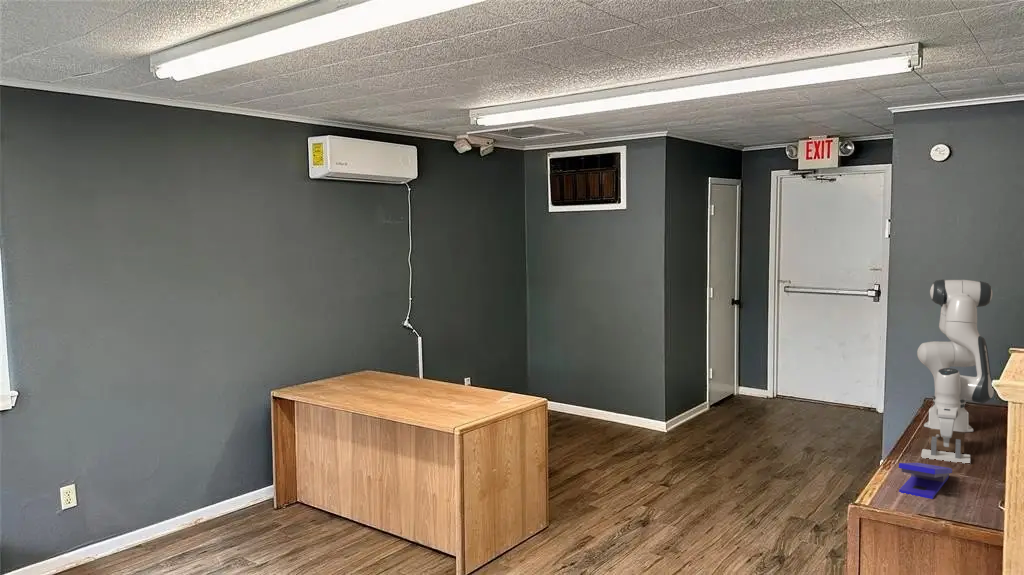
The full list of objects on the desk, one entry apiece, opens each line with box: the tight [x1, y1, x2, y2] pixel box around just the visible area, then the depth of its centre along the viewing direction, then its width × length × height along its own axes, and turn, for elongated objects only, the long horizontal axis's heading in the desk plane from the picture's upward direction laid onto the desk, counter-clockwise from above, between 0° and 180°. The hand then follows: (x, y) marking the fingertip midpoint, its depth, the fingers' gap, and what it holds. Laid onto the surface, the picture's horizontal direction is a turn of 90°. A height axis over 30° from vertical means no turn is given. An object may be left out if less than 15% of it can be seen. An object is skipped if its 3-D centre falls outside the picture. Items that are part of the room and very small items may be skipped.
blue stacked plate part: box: [898, 462, 953, 500], centre depth 251 cm, size 12×28×10 cm, turn 140°
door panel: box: [928, 428, 966, 454], centre depth 290 cm, size 4×12×8 cm, turn 58°
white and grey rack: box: [920, 437, 971, 464], centre depth 280 cm, size 8×16×7 cm, turn 58°
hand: (946, 443), depth 290 cm, fingers open, 7 cm apart
